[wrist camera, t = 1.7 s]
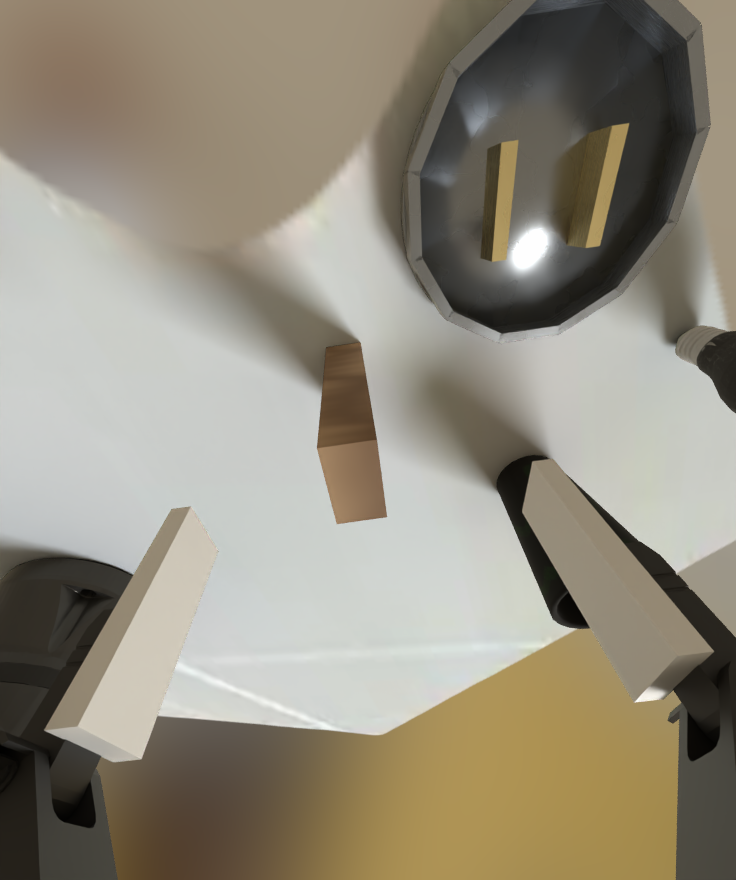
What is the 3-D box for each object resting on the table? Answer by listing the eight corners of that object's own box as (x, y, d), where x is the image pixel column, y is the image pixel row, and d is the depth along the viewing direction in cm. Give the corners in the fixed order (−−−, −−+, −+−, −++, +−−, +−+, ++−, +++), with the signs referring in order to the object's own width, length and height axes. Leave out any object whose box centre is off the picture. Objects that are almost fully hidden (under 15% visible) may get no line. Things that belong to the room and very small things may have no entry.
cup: (507, 440, 29) (595, 558, 19) (583, 451, 30) (701, 568, 20) (473, 502, 33) (530, 627, 23) (540, 510, 34) (622, 631, 24)
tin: (408, 345, 23) (415, 359, 21) (390, 20, 15) (398, -12, 13) (620, 315, 23) (648, 325, 21) (724, -33, 15) (790, -74, 13)
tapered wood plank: (337, 403, 26) (336, 524, 16) (326, 347, 23) (316, 448, 13) (368, 399, 26) (386, 516, 16) (360, 342, 23) (376, 439, 13)
